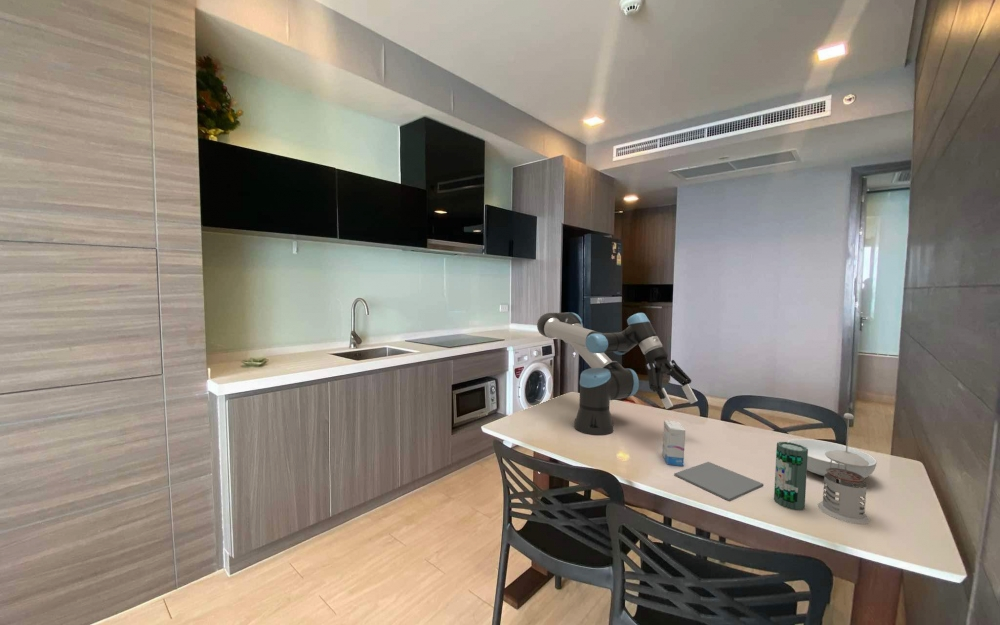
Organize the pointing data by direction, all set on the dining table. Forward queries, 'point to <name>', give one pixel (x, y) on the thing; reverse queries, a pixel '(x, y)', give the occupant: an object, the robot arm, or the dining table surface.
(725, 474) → the rubber mat
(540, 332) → the robot arm
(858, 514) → the french press
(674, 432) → the ink box
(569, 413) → the dining table surface
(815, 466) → the serving bowl
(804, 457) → the can
